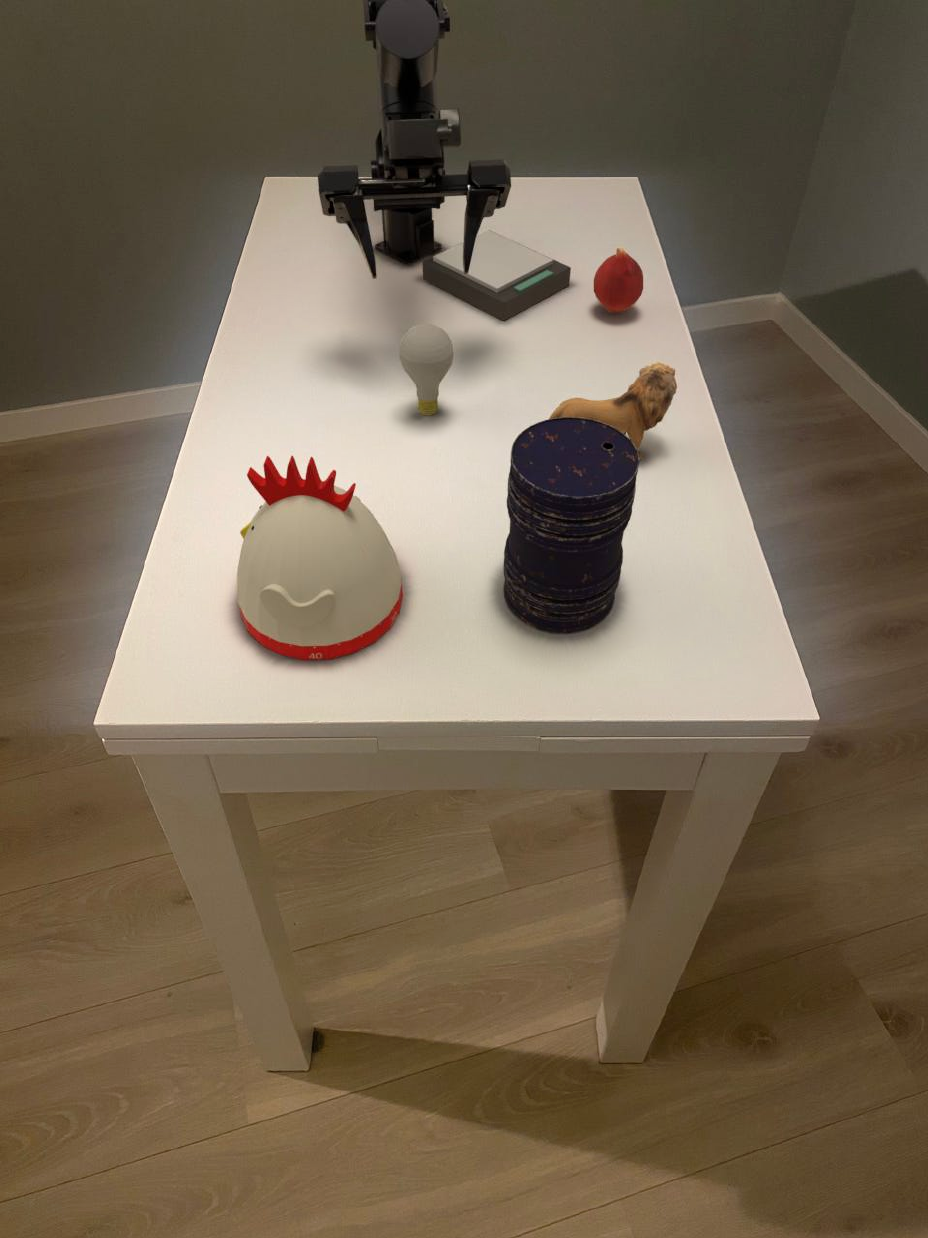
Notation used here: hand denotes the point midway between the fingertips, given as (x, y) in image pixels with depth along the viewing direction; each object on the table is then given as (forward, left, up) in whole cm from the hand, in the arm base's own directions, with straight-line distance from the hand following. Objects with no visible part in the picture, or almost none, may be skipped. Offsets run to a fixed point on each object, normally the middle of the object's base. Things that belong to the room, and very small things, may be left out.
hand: (420, 275), depth 93 cm
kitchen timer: (+18, -29, -13) cm, 36 cm away
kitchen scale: (-9, +21, -12) cm, 26 cm away
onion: (+6, +26, -13) cm, 30 cm away
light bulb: (+5, -4, -13) cm, 14 cm away
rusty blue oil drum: (+32, -14, -13) cm, 37 cm away
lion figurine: (+22, +4, -13) cm, 25 cm away
